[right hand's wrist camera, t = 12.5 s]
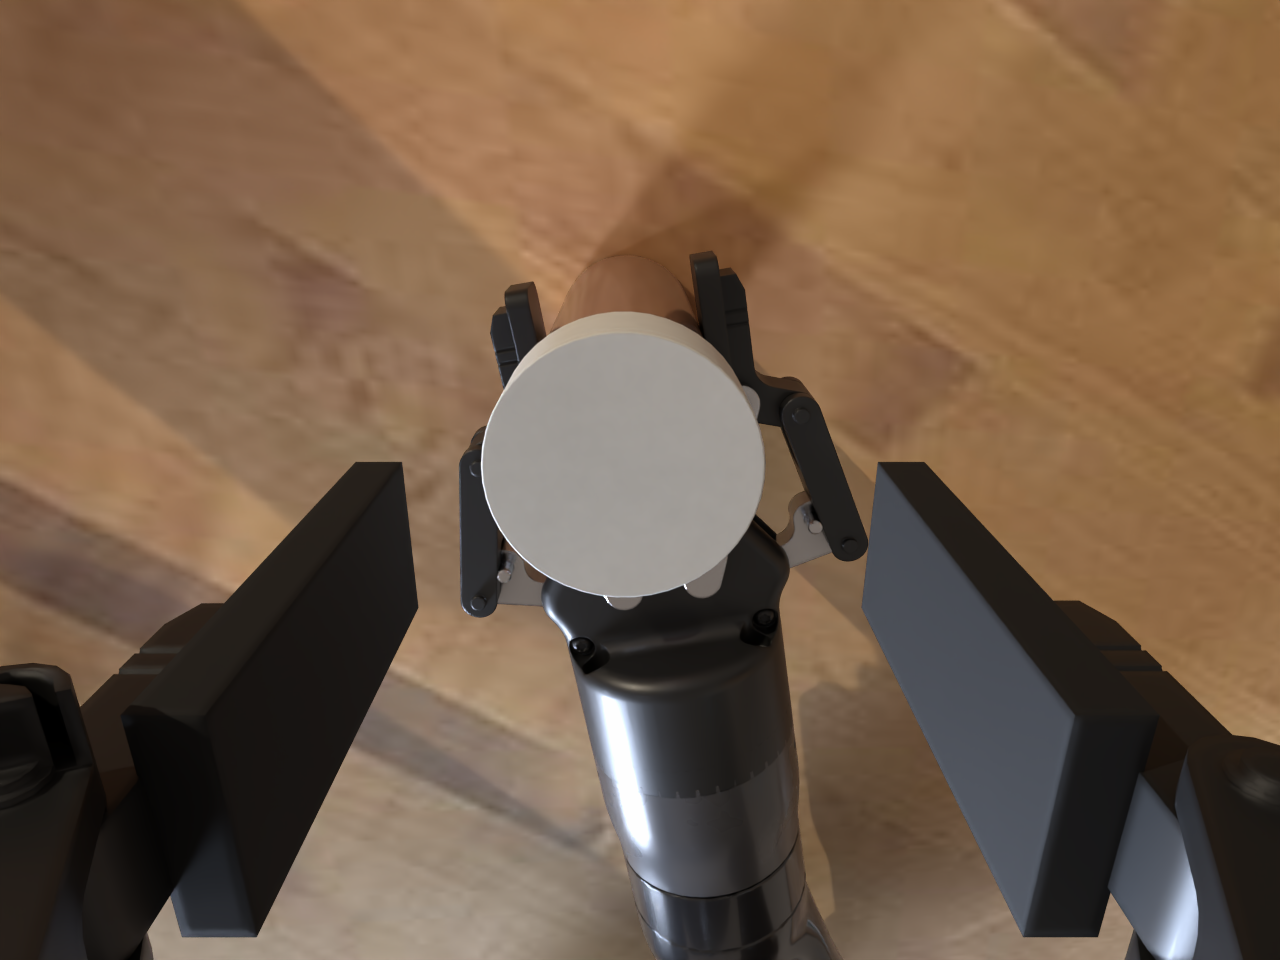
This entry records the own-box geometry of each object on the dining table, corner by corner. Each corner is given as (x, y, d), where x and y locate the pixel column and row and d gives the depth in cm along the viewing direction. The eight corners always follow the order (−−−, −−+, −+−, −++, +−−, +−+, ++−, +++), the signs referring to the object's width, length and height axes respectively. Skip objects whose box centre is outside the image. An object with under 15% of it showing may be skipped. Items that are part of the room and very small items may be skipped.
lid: (779, 509, 19) (797, 551, 17) (551, 580, 20) (542, 629, 18) (708, 273, 17) (718, 289, 15) (457, 360, 18) (434, 388, 16)
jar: (707, 360, 32) (771, 532, 17) (588, 401, 32) (554, 599, 18) (668, 235, 30) (702, 311, 16) (542, 280, 31) (464, 393, 16)
